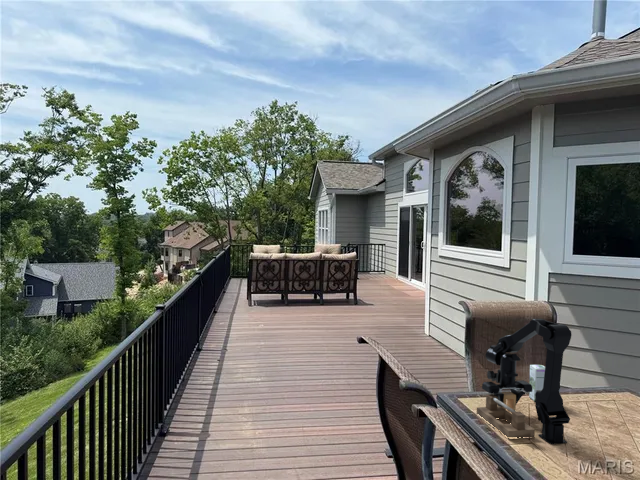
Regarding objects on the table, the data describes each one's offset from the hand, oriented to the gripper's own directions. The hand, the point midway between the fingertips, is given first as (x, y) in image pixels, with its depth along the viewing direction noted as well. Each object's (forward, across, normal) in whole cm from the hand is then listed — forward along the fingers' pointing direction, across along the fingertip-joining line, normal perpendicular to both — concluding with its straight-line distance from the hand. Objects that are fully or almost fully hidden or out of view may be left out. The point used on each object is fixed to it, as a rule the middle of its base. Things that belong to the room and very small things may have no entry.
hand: (506, 408), depth 170 cm
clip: (+2, 0, 0) cm, 2 cm away
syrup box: (+2, -22, -10) cm, 24 cm away
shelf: (+2, +8, +11) cm, 14 cm away
